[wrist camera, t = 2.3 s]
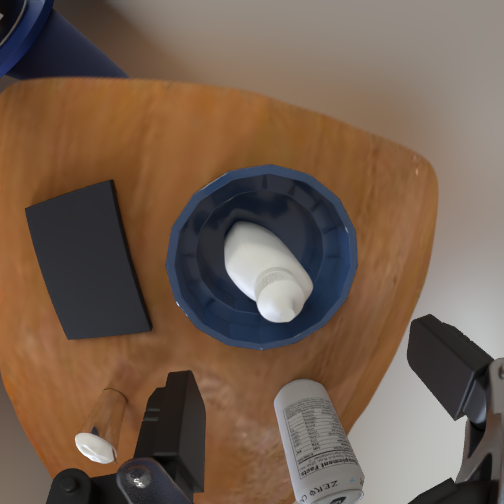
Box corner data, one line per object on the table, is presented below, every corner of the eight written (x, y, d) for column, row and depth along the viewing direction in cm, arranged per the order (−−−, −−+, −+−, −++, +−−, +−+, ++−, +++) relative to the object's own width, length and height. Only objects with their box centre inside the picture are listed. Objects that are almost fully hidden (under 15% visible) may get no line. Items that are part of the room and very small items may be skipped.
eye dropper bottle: (250, 286, 25) (270, 375, 14) (218, 230, 24) (213, 288, 12) (294, 262, 25) (347, 335, 14) (265, 205, 24) (305, 239, 12)
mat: (28, 207, 22) (24, 208, 21) (113, 179, 22) (109, 179, 21) (70, 336, 26) (67, 340, 25) (152, 327, 26) (151, 331, 25)
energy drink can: (269, 412, 30) (292, 521, 16) (276, 375, 29) (309, 496, 15) (317, 410, 31) (355, 509, 17) (329, 373, 30) (382, 480, 15)
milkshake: (144, 409, 29) (128, 475, 19) (107, 411, 29) (86, 472, 19) (127, 382, 28) (103, 450, 18) (90, 385, 28) (61, 446, 18)
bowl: (164, 183, 23) (147, 187, 17) (322, 157, 23) (348, 155, 18) (198, 326, 26) (194, 361, 21) (335, 299, 27) (358, 327, 22)
